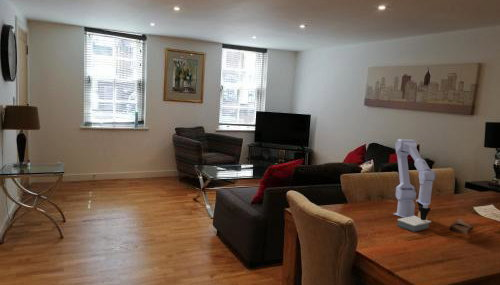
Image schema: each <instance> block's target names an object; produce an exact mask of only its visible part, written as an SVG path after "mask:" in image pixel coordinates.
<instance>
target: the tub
mask: <svg viewBox="0 0 500 285" xmlns="http://www.w3.org/2000/svg"><path fill="white" fill-rule="evenodd" d="M397 227H399V228H400V229H403V230H406V231H409V232H412V233H415V232H419V231H424V230H428V229H429V227H430V223H427V224H422V225H418V226H412V225H409V224H406V223H403V222H401V221H398V220H397Z"/></svg>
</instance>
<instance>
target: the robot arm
mask: <svg viewBox="0 0 500 285" xmlns="http://www.w3.org/2000/svg"><path fill="white" fill-rule="evenodd" d="M394 146H395V147H394V148H395V154H396V157H397V166H398V177H399V184H398V185H397V186H396V187H395V198H396V199H397V208H396V209H397V210H396V212H394V213H393V215H394V216H397V217H401V218H405V217H411V216H416V215H415V209H416V204H415V202H416V203H417V206H418V212H419V211H420V217H421V220H426V217H427V218H428V215H429V213H430V211H431V210H432V208H431V207H429V205H430V204H431V203H432V202H431V198H432V192H433V191H432V190H433V183H434V181H435V180H437V179H436V178H437V174H436V171H435V170H433V169H432V168H430V166H429V165H428V163H427V162H426V160H425V159H424V158H422V157H421V155H420V152H419V150H418V149H417V147H418V144H417V141H416V139H408V138H407V139H406V138H405V139H404V138H403V139H402V138H398V139H397V140H396V141H395V143H394ZM409 155H410V156H411V158H412V159H413V161H414V165H413V166H414V167H415V168H416V170H417V172H418V180H419V193H418V198H417V192H416V190H415V186H414V185H412V184H411V179H410V171H409V164H408V156H409ZM416 198H417V199H416ZM414 200H415V202H414Z"/></svg>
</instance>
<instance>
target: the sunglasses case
mask: <svg viewBox="0 0 500 285" xmlns="http://www.w3.org/2000/svg"><path fill="white" fill-rule="evenodd" d="M473 227H474V226H472V225H471V224H469V223H468V222H467V221H464V220H463V219H462V218H460V217H458V218H457V219H456V220H455V221H453V223H452V224H451V225H450V226H449V227H448V228H449V231H450V232H453V233H457V234H460V235H461V234H462V235H466V236H467V235H468V234H469V231H470V230H471V229H473Z"/></svg>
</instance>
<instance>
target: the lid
mask: <svg viewBox="0 0 500 285" xmlns="http://www.w3.org/2000/svg"><path fill="white" fill-rule="evenodd" d="M398 221H401V222H403V223H406V224H409V225H412V226H418V225H422V224H427V223H429V224H430V223H432V220H428V216H427V217H426V220H421V217H420V211H419V210H418V213H417V216H416V215H415V216H411V217H405V218H403V217H401V218H397V222H398Z"/></svg>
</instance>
